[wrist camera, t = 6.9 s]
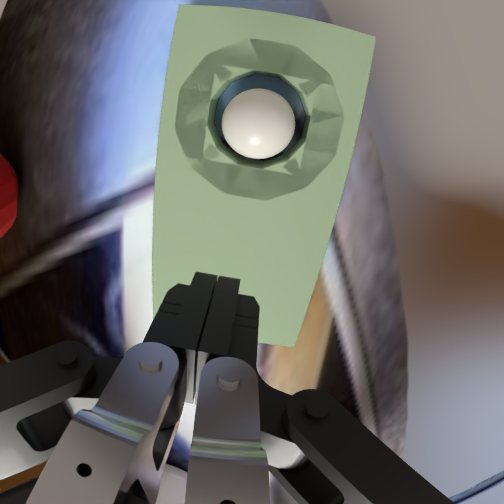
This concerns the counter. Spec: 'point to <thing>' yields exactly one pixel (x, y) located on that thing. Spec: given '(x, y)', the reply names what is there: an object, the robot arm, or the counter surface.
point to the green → (254, 171)
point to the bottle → (172, 486)
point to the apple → (7, 195)
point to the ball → (258, 123)
